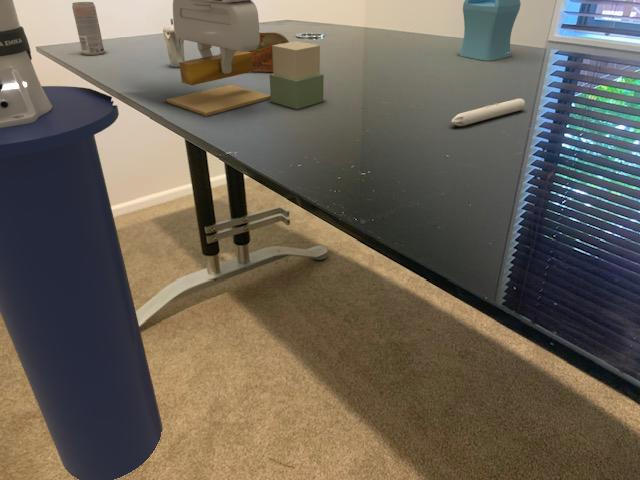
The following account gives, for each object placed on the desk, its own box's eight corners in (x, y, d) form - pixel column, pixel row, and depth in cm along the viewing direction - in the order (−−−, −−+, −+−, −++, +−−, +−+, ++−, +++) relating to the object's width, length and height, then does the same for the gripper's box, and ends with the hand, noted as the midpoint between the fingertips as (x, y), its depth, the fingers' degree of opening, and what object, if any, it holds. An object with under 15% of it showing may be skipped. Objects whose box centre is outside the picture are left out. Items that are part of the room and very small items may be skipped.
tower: (297, 109, 90) (296, 50, 85) (270, 101, 94) (268, 45, 89) (323, 101, 94) (324, 45, 89) (297, 94, 98) (296, 40, 93)
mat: (206, 116, 86) (206, 112, 86) (167, 102, 93) (166, 99, 93) (271, 98, 96) (270, 95, 96) (231, 87, 103) (230, 84, 102)
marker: (455, 130, 81) (457, 115, 79) (445, 126, 82) (447, 112, 81) (524, 111, 90) (526, 98, 89) (514, 108, 91) (516, 95, 90)
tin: (226, 71, 115) (222, 31, 111) (230, 68, 118) (227, 29, 114) (290, 73, 113) (289, 33, 109) (293, 70, 116) (292, 31, 112)
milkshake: (187, 62, 122) (181, 18, 117) (188, 67, 118) (182, 21, 113) (167, 63, 121) (161, 18, 116) (168, 68, 117) (161, 22, 112)
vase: (456, 55, 132) (471, -56, 119) (478, 50, 138) (495, -56, 125) (488, 61, 126) (508, -55, 113) (510, 56, 131) (531, -55, 118)
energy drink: (100, 50, 135) (90, 1, 129) (107, 53, 131) (97, 3, 125) (80, 52, 132) (68, 2, 126) (86, 56, 128) (74, 4, 122)
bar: (253, 71, 96) (251, 52, 94) (191, 85, 87) (189, 64, 85) (242, 69, 98) (241, 50, 96) (181, 82, 89) (178, 62, 87)
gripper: (158, -16, 89) (171, 65, 96) (232, -9, 77) (240, 83, 84) (188, -19, 93) (198, 59, 100) (263, -12, 81) (268, 76, 88)
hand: (218, 70), depth 92 cm, fingers closed on bar, 3 cm apart
